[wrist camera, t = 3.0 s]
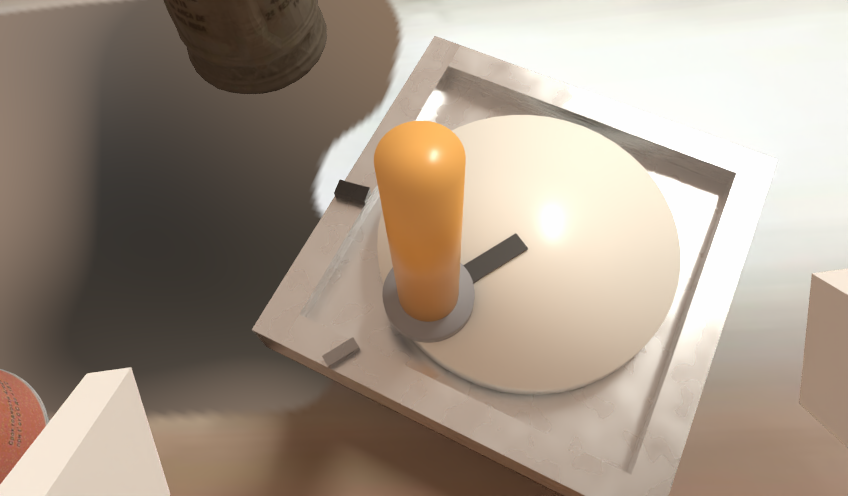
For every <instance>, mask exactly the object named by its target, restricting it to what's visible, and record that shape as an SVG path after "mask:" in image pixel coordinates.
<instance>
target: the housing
mask: <svg viewBox="0 0 848 496" xmlns="http://www.w3.org/2000/svg"><path fill="white" fill-rule="evenodd" d="M507 115H535V116H545V117H551V118H556V119H560V120H565V121H568V122H571V123H574V124H577V125H580V126H583V127H586V128H588V129H590V130H592V131H594V132H597V133H599V134H601V135H602V136H604V137H606V138H608V139H609V140H611V141H613V142H614V143H616V144H617V145H619V146H620V147H621V148H622V149H624V150H625V151H626V152H628V153H629V154H630V155H631V156H632V157H634V158H635V159H636V160H637V161H638V162H639V163H640V164H641V165H642V166H643V167H644V168H645V169H646V171H647V172H648V173H649V174H650V176H651V177H652V178H653V179H654V180H655V182H656V183H657V185H658V187H659V188H660V190H661V191H662V193H663V195H664V196H665V198H666V200H667V202H668V205H669V207H670V209H671V211H672V213H673V216H674V220H675V223H676V226H677V230H678V235H679V241H680V248H681V269H680V276H679V283H678V288H677V291H676V294H675V298H674V301H673V304H672V306H671V308H670V310H669V312H668V314H667V316H666V318H665V320H664V322H663V323H662V325H661V326H660V328H659V329H658V331H657V332H656V333H655V335H654V336H653V337H652V338H651V339H650V340H649V342H648V343H647V344H646V345H645V346H644V347H643V348H642V349H641V350H640V351H639V352H638V353H637V354H636V355H635V356H634V357H633V358H632V359H631V360H629V361H628V362H627V363H626V364H624V365H623V366H622V367H621V368H619V369H618V370H616V371H615V372H613V373H611V374H610V375H608V376H606V377H604V378H603V379H601V380H599V381H596V382H594V383H591V384H589V385H586V386H584V387H581V388H577V389H573V390H569V391H565V392H560V393H551V394H543V395H534V394H515V393H508V392H501V391H497V390H493V389H490V388H486V387H483V386H479V385H477V384H475V383H472V382H470V381H467V380H465V379H463V378H460V377H459V376H457V375H455V374H454V373H452V372H450V371H448V370H447V369H445V368H443V367H442V366H441V365H439V364H438V363H437V362H435V361H434V360H433V359H431V358H430V357H429V356H428V355H426V354H425V353H424V352H423V351H422V350H421V349H420V348H419V347H418V346H417V345H416V344H415V343H414V342H413V341H412V340H411V339H409V338H407V337H405V336H404V335H402V334H401V333H399V332H398V331H397V330H396V329H395V328H394V327H393V325H392V324H391V323H390V321H389V319H388V317H387V315H386V312H385V308H384V304H383V297H382V292H383V281H382V277H381V273H380V268H379V263H378V252H377V239H378V227H379V222H380V217H381V212H382V206H381V200H380V195H379V189H378V184H377V179H376V173H375V168H374V154H375V150H376V147H377V145H378V143H379V141H380V140H381V139H382V137H383V136H384V135H385V134H386V133H387V132H389V131H390V130H391V129H393V128H394V127H396V126H398V125H400V124H403V123H406V122H411V121H431V122H435V123H438V124H441V125H443V126H445V127H447V128H448V129H450V130H451V131H452V130H454V129H456V128H458V127H460V126H463V125H466V124H469V123H472V122H475V121H478V120H482V119H487V118H491V117H498V116H507ZM776 162H777V160H776V159H773V158H770V157H768V156H765V155H762V154H759V153H757V152H754V151H751V150H748V149H746V148H743V147H740V146H737V145H735V144H732V143H729V142H726V141H723V140H721V139H718V138H715V137H712V136H710V135H707V134H704V133H701V132H699V131H696V130H693V129H690V128H688V127H685V126H682V125H679V124H677V123H674V122H671V121H668V120H665V119H663V118H660V117H657V116H654V115H652V114H649V113H646V112H643V111H641V110H638V109H635V108H632V107H630V106H627V105H624V104H621V103H619V102H616V101H613V100H610V99H607V98H605V97H602V96H599V95H596V94H594V93H591V92H588V91H585V90H583V89H580V88H577V87H574V86H572V85H569V84H566V83H563V82H561V81H558V80H555V79H552V78H549V77H547V76H544V75H541V74H538V73H536V72H533V71H530V70H527V69H525V68H522V67H519V66H516V65H514V64H511V63H508V62H505V61H503V60H500V59H497V58H494V57H491V56H489V55H486V54H483V53H480V52H478V51H475V50H472V49H469V48H467V47H464V46H461V45H458V44H456V43H453V42H450V41H447V40H445V39H442V38H439V37H436V36H435V37H434V38H433V40H432V41H431V43H430V45H429V46H428V48H427V49H426V51H425V53H424V54H423V56H422V57H421V59H420V61H419V62H418V64H417V65H416V67H415V69H414V70H413V72H412V73H411V75H410V77H409V78H408V80H407V81H406V83H405V85H404V86H403V88H402V90H401V91H400V93H399V94H398V96H397V98H396V99H395V101H394V102H393V104H392V106H391V107H390V109H389V110H388V112H387V114H386V115H385V117H384V118H383V120H382V122H381V123H380V125H379V126H378V128H377V130H376V131H375V133H374V134H373V136H372V138H371V139H370V141H369V142H368V144H367V146H366V147H365V149H364V150H363V152H362V154H361V155H360V157H359V158H358V160H357V162H356V163H355V165H354V167H353V168H352V170H351V171H350V173H349V175H348V176H347V178H346V179H345V181H343V180H339V183H338V185H337V187H336V190H335V192H334V194H335V197H334V199H333V200H332V202H331V203H330V205H329V207H328V208H327V210H326V211H325V213H324V215H323V216H322V218H321V220H320V221H319V223H318V224H317V226H316V228H315V229H314V231H313V232H312V234H311V236H310V237H309V239H308V240H307V242H306V244H305V245H304V247H303V248H302V250H301V252H300V253H299V255H298V256H297V258H296V260H295V261H294V263H293V264H292V266H291V268H290V269H289V271H288V272H287V274H286V276H285V277H284V279H283V280H282V282H281V284H280V285H279V287H278V288H277V290H276V292H275V293H274V295H273V297H272V298H271V300H270V301H269V303H268V305H267V306H266V308H265V309H264V311H263V313H262V314H261V316H260V317H259V319H258V321H257V322H256V324H255V325H254V327H253V329H252V330H253V332H254V333H255V334H256V335H257V336H258V337H259V338H260V339H261V340H262V342H263V343H264V344H265V345H266V346H267V347H269V348H270V349H272V350H274V351H277V352H278V353H281V354H282V355H284V356H286V357H289V358H291V359H292V360H294V361H296V362H298V363H301V364H303V365H305V366H306V367H309V368H310V369H312V370H314V371H317V372H318V373H320V374H322V375H324V376H326V377H328V378H330V379H332V380H334V381H336V382H338V383H340V384H342V385H344V386H346V387H348V388H350V389H352V390H354V391H356V392H358V393H360V394H362V395H364V396H366V397H368V398H370V399H372V400H374V401H376V402H378V403H380V404H382V405H384V406H386V407H388V408H390V409H392V410H394V411H396V412H398V413H400V414H402V415H404V416H406V417H408V418H410V419H412V420H414V421H416V422H418V423H420V424H422V425H424V426H426V427H428V428H430V429H432V430H434V431H436V432H438V433H440V434H442V435H444V436H446V437H448V438H450V439H452V440H454V441H456V442H458V443H460V444H462V445H464V446H466V447H468V448H470V449H472V450H474V451H476V452H478V453H480V454H482V455H484V456H486V457H488V458H490V459H492V460H494V461H496V462H498V463H500V464H502V465H504V466H505V467H507V468H509V469H511V470H513V471H515V472H517V473H519V474H521V475H523V476H525V477H527V478H529V479H531V480H533V481H535V482H537V483H539V484H541V485H543V486H545V487H547V488H549V489H551V490H553V491H555V492H557V493H559V494H561V495H563V496H668V495H669V492H670V489H671V486H672V483H673V480H674V477H675V474H676V470H677V467H678V464H679V461H680V458H681V455H682V452H683V449H684V446H685V443H686V440H687V437H688V433H689V430H690V427H691V424H692V421H693V418H694V415H695V412H696V409H697V406H698V403H699V400H700V396H701V393H702V390H703V387H704V384H705V381H706V378H707V375H708V372H709V369H710V366H711V362H712V359H713V356H714V353H715V350H716V347H717V344H718V341H719V338H720V335H721V332H722V329H723V325H724V322H725V319H726V316H727V313H728V310H729V307H730V304H731V301H732V298H733V295H734V291H735V288H736V285H737V282H738V279H739V276H740V273H741V270H742V267H743V264H744V261H745V258H746V254H747V251H748V248H749V245H750V242H751V239H752V236H753V233H754V230H755V227H756V224H757V220H758V217H759V214H760V211H761V208H762V205H763V202H764V199H765V196H766V193H767V190H768V187H769V183H770V180H771V177H772V174H773V171H774V168H775V165H776Z"/></svg>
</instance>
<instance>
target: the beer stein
mask: <svg viewBox="0 0 848 496" xmlns="http://www.w3.org/2000/svg"><path fill="white" fill-rule="evenodd" d="M164 3H165V5H166V7H167V10H168V12H169V14H170V16H171V18H172V20H173V22H174V24H175V26H176V28H177V31H178V33H179V36H180V38H181V40H182V41H183V42H184V44H185V45H186V46H187V50H188V54H189V58H190V61H191V62H192V64H193V66H194V68H195V70H196V72H197V73H198V74H199V75H200V76H201V77H202V78H203V79H204V80H205V81H207V82H208V83H210V84H212V85H213V86H215V87H216V88H218V89H221V90H225V91H229V92H233V93H241V94H258V93H259V94H260V93H267V92H272V91H277V90H279V89H282V88H284V87H286V86H288V85H290V84H292V83H294V82H296V81H297V80H299V79H300V78H302V77H303V76H304V75H305V74H307V73H308V72H309V71H310V70H311V68H312V67H313V66H314V65H315V64H316V63H317V62H318V60H319V58H320V56H321V54H322V52H323V49H324V47H325V44H326V38H327V36H326V23H325V21H324V18H323V15H322V13H321V10H320V8H319V6H318V0H164Z"/></svg>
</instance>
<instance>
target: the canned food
mask: <svg viewBox="0 0 848 496" xmlns="http://www.w3.org/2000/svg"><path fill="white" fill-rule="evenodd" d="M48 423H49V419H48V415H47V412H46V409H45V407H44V404H43V402H42V400H41V399H40V397H39V395H38V394H37V393H36V391H35V390H34V389H33V388H32V387H31V386H30V385H29V384H28V383H27V382H26V381H24V380H23V379H22V378H20V377H19V376H17V375H15V374H13V373H11V372H8V371H6V370H2V369H0V484H1V483H2V482H3V480H4V479H5V478H6V477H7V475H8V474H9V473H10V471H11V470H12V469H13V468H14V466H15V465H16V464H17V462H18V461H19V460H20V459H21V457H22V456H23V455H24V454H25V452H26V451H27V450H28V448H29V447H30V446H31V445H32V443H33V442H34V441H35V439H36V438H37V437H38V436H39V434H40V433H41V432H42V430H43V429H44V428H45V427H46V425H47V424H48Z"/></svg>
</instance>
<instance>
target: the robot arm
mask: <svg viewBox="0 0 848 496" xmlns="http://www.w3.org/2000/svg"><path fill="white" fill-rule="evenodd" d="M799 404H800V405H801V406H802V407H803V408H805V409H806V410H807V411H808V412H809V413H810V414H811V415H812V416H813V417H814V418H815V419H817V420H818V421H819V422H820V423H821V424H822V425H823V426H824V427H825V428H826V429H827V430H828V431H830V432H831V433H832V434H833V435H834V436H835V437H836V438H837V439H838V440H839V441H840V442H841V443H843V444H844V445H845V446H846V447H847V448H848V269H841V270H834V271H827V272H819V273H812V278H811V288H810V298H809V308H808V318H807V328H806V338H805V349H804V359H803V369H802V379H801V389H800V399H799ZM0 496H170V492H169V488H168V485H167V482H166V479H165V475H164V472H163V469H162V466H161V462H160V459H159V456H158V453H157V450H156V446H155V443H154V440H153V437H152V433H151V430H150V427H149V424H148V420H147V417H146V414H145V411H144V407H143V404H142V401H141V398H140V395H139V391H138V388H137V385H136V382H135V379H134V376H133V372H132V369H131V368H124V369H117V370H109V371H102V372H95V373H88V374H86V375H85V377H84V378H83V379H82V380H81V382H80V383H79V384H78V386H77V387H76V388H75V389H74V391H73V392H72V393H71V395H70V396H69V397H68V398H67V400H66V401H65V402H64V404H63V405H62V406H61V407H60V409H59V410H58V411H57V413H56V414H55V415H54V416H53V418H52V419H51V420H50V421H49V423H48V424H47V425H46V427H45V428H44V429H43V430H42V432H41V433H40V434H39V436H38V437H37V438H36V439H35V441H34V442H33V443H32V445H31V446H30V447H29V448H28V450H27V451H26V452H25V454H24V455H23V456H22V457H21V459H20V460H19V461H18V462H17V464H16V465H15V466H14V468H13V469H12V470H11V471H10V473H9V474H8V475H7V477H6V478H5V479H4V480H3V482H2V483H1V484H0Z"/></svg>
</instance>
